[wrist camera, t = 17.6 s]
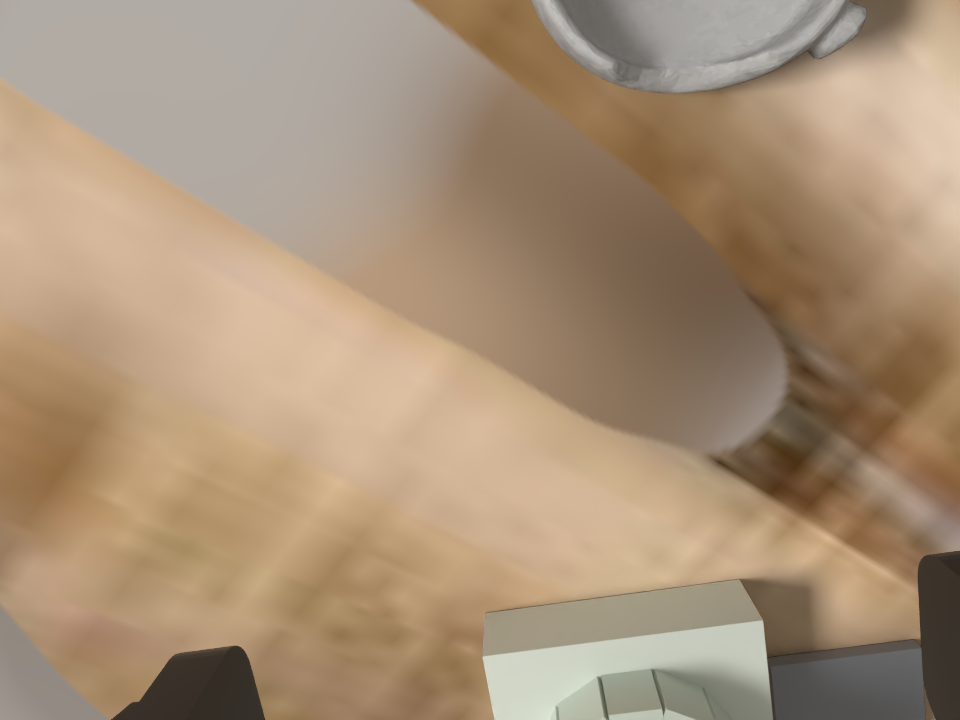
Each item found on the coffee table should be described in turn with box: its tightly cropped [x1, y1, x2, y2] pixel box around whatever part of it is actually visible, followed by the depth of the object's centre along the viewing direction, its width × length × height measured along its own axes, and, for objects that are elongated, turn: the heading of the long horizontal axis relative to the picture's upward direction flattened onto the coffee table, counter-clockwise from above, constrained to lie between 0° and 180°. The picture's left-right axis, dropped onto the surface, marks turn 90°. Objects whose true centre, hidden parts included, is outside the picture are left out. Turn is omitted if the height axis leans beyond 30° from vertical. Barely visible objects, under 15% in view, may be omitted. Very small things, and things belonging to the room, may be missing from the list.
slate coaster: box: [767, 639, 925, 720], centre depth 42 cm, size 8×8×1 cm
